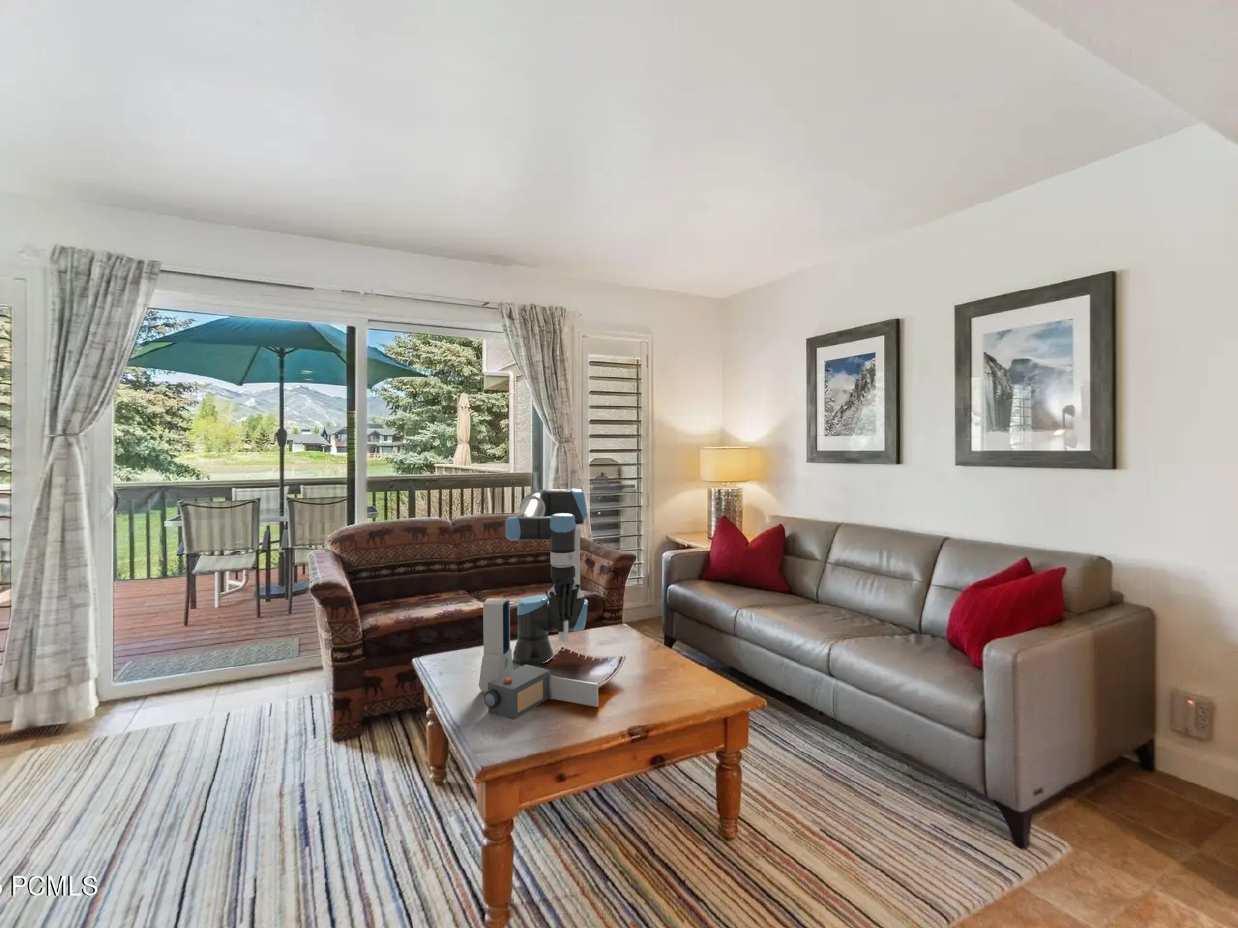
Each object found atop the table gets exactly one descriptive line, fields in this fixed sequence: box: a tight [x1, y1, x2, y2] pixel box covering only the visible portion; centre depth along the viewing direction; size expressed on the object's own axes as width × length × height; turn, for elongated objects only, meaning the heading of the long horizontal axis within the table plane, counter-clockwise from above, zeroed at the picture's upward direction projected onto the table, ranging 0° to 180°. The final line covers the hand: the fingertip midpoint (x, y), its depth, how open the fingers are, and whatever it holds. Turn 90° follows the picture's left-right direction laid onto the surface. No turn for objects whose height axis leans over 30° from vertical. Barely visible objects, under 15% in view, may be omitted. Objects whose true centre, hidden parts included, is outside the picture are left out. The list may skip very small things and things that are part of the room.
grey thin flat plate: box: [549, 674, 599, 708], centre depth 193 cm, size 17×2×7 cm, turn 68°
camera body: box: [483, 664, 551, 720], centre depth 190 cm, size 20×10×10 cm, turn 149°
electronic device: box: [478, 597, 514, 694], centre depth 204 cm, size 12×8×30 cm, turn 168°
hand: (563, 641), depth 186 cm, fingers closed
